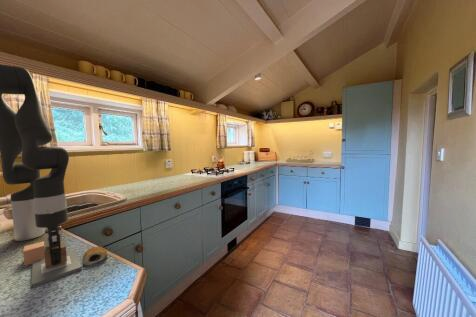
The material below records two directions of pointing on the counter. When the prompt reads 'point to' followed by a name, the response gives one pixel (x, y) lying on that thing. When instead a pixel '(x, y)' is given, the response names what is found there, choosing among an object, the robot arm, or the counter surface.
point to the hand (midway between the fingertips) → (56, 260)
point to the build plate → (54, 269)
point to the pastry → (94, 255)
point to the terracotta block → (33, 253)
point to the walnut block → (48, 256)
